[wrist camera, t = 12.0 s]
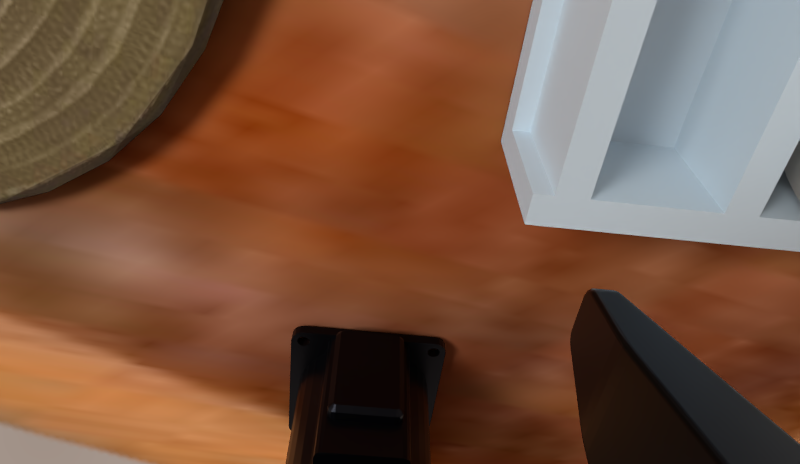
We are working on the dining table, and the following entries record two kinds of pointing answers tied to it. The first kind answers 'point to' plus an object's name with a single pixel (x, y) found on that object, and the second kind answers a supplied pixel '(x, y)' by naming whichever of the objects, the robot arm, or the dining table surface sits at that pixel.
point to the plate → (794, 170)
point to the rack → (659, 119)
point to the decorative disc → (87, 81)
